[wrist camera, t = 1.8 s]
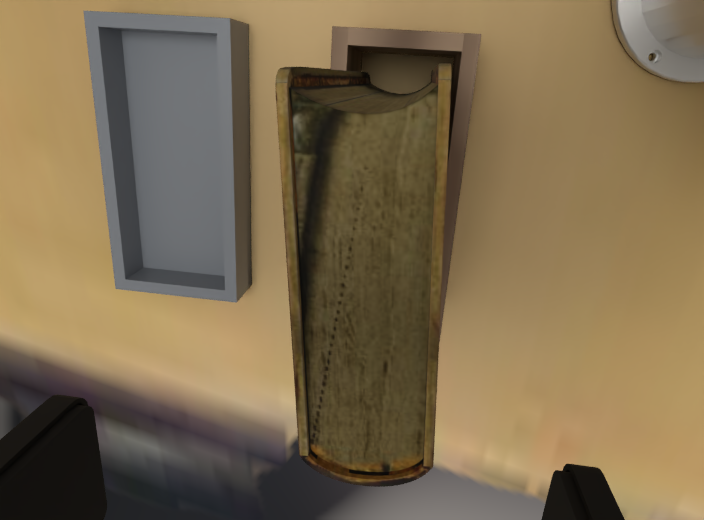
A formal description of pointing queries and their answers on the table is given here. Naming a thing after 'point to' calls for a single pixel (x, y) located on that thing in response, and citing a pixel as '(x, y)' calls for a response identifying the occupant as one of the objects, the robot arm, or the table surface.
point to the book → (364, 267)
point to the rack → (465, 53)
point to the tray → (174, 150)
